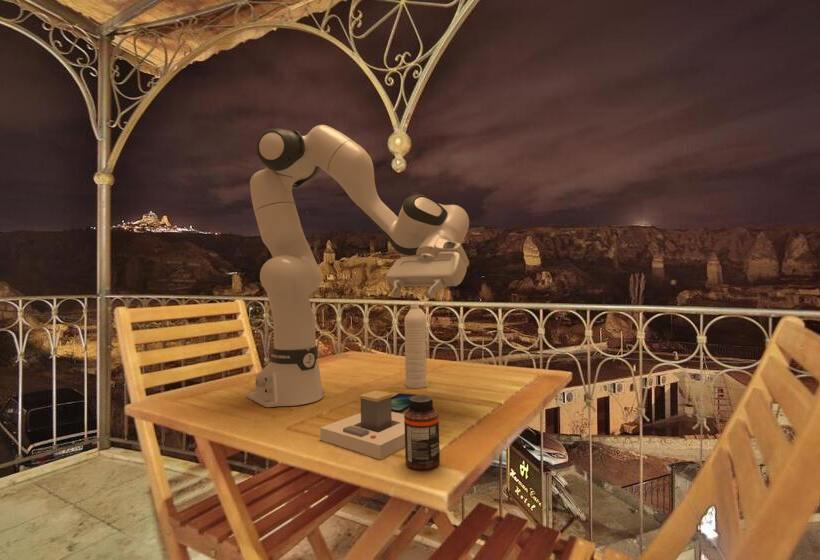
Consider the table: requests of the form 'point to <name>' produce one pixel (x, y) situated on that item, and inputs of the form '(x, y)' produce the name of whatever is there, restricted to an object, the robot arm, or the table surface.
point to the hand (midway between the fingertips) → (411, 296)
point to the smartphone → (400, 402)
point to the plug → (376, 411)
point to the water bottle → (415, 347)
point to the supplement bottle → (421, 433)
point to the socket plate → (366, 436)
